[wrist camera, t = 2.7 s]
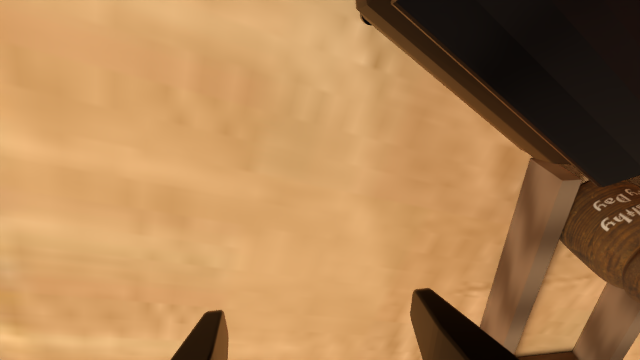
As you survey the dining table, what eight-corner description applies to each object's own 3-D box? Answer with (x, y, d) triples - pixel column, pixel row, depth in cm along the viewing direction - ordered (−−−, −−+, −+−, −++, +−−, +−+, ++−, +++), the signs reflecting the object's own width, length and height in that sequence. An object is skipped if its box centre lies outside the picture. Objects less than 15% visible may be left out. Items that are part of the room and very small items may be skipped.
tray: (530, 158, 23) (562, 180, 20) (691, 149, 24) (742, 169, 21) (466, 370, 34) (482, 402, 31) (579, 358, 35) (604, 388, 32)
